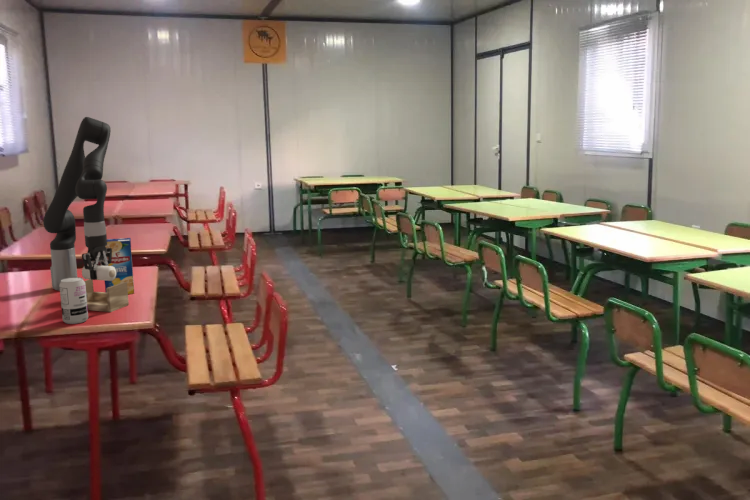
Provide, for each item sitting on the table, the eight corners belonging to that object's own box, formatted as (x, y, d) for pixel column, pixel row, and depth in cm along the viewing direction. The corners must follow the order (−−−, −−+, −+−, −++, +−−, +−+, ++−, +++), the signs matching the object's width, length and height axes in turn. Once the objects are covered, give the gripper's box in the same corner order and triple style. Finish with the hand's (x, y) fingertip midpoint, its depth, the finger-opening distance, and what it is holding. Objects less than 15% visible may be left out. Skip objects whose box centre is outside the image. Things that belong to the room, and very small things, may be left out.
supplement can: (67, 318, 241) (63, 277, 238) (91, 317, 241) (88, 276, 239) (59, 324, 233) (55, 282, 230) (84, 324, 233) (80, 282, 231)
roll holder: (72, 309, 252) (69, 285, 251) (93, 301, 263) (91, 278, 261) (109, 312, 247) (107, 288, 246) (129, 304, 258) (127, 281, 256)
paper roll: (81, 280, 252) (80, 265, 252) (91, 277, 258) (90, 263, 257) (108, 282, 249) (107, 267, 248) (117, 279, 254) (117, 265, 253)
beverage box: (134, 293, 275) (130, 240, 270) (105, 296, 271) (101, 242, 267) (134, 289, 281) (130, 237, 277) (106, 292, 277) (101, 239, 273)
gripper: (100, 230, 258) (104, 273, 261) (73, 236, 244) (77, 281, 248) (116, 230, 256) (120, 274, 259) (90, 237, 242) (94, 282, 245)
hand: (99, 277), depth 253 cm, fingers closed on paper roll, 5 cm apart
